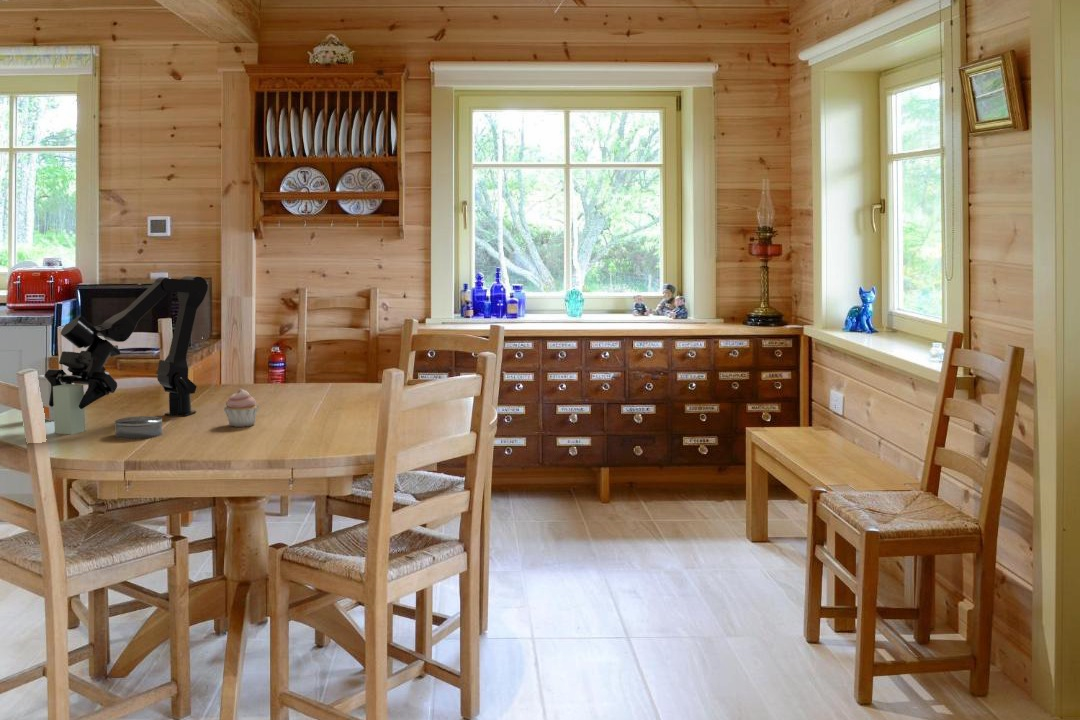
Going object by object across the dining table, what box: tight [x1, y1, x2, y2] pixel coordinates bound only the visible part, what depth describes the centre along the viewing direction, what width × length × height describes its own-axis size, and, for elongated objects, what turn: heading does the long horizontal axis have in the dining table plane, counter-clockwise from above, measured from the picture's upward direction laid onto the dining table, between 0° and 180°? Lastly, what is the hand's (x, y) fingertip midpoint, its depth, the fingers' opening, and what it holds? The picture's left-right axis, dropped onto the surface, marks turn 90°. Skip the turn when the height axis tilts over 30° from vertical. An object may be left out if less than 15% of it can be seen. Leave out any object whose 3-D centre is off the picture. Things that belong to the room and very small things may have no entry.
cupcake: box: [222, 387, 260, 428], centre depth 269 cm, size 9×9×10 cm
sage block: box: [53, 383, 86, 435], centre depth 257 cm, size 5×5×12 cm
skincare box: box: [37, 374, 54, 422], centre depth 275 cm, size 6×4×12 cm
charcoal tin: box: [114, 415, 163, 440], centre depth 255 cm, size 11×11×4 cm
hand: (65, 406), depth 256 cm, fingers open, 9 cm apart
